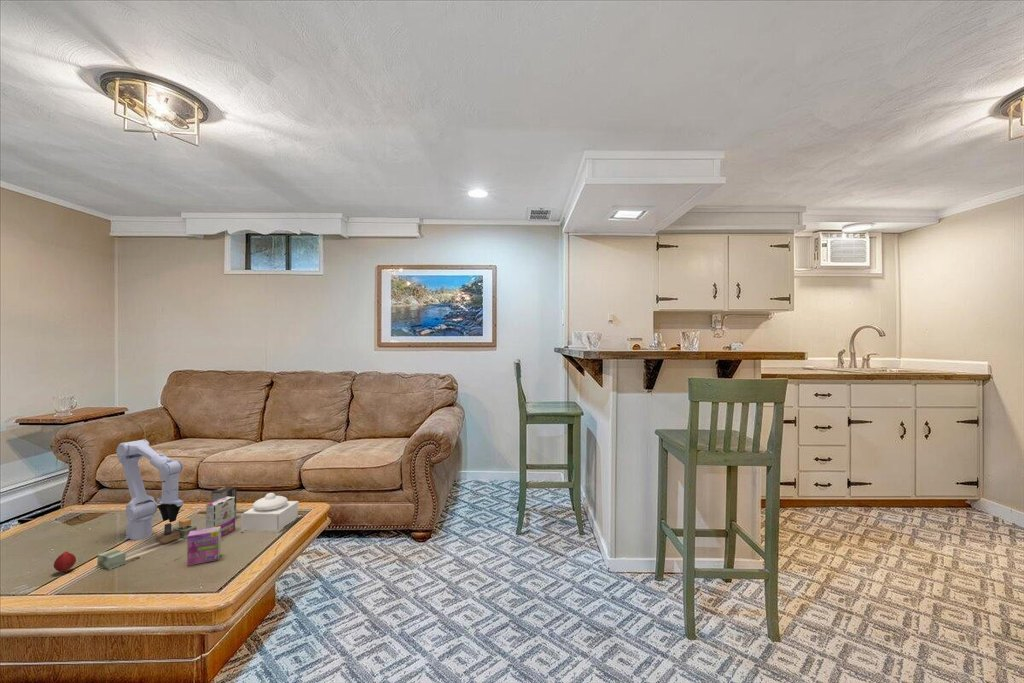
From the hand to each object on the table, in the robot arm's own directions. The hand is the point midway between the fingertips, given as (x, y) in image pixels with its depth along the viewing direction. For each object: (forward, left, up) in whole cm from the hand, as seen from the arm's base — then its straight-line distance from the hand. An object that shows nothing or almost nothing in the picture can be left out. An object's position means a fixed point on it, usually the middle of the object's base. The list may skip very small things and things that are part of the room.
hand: (169, 520), depth 188 cm
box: (+30, -5, -10) cm, 32 cm away
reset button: (0, +7, -6) cm, 9 cm away
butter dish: (+24, +31, -10) cm, 40 cm away
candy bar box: (+14, +13, -10) cm, 22 cm away
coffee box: (-2, +26, -10) cm, 28 cm away
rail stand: (0, -7, -10) cm, 12 cm away
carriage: (0, -1, -8) cm, 8 cm away
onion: (-10, -30, -10) cm, 33 cm away
